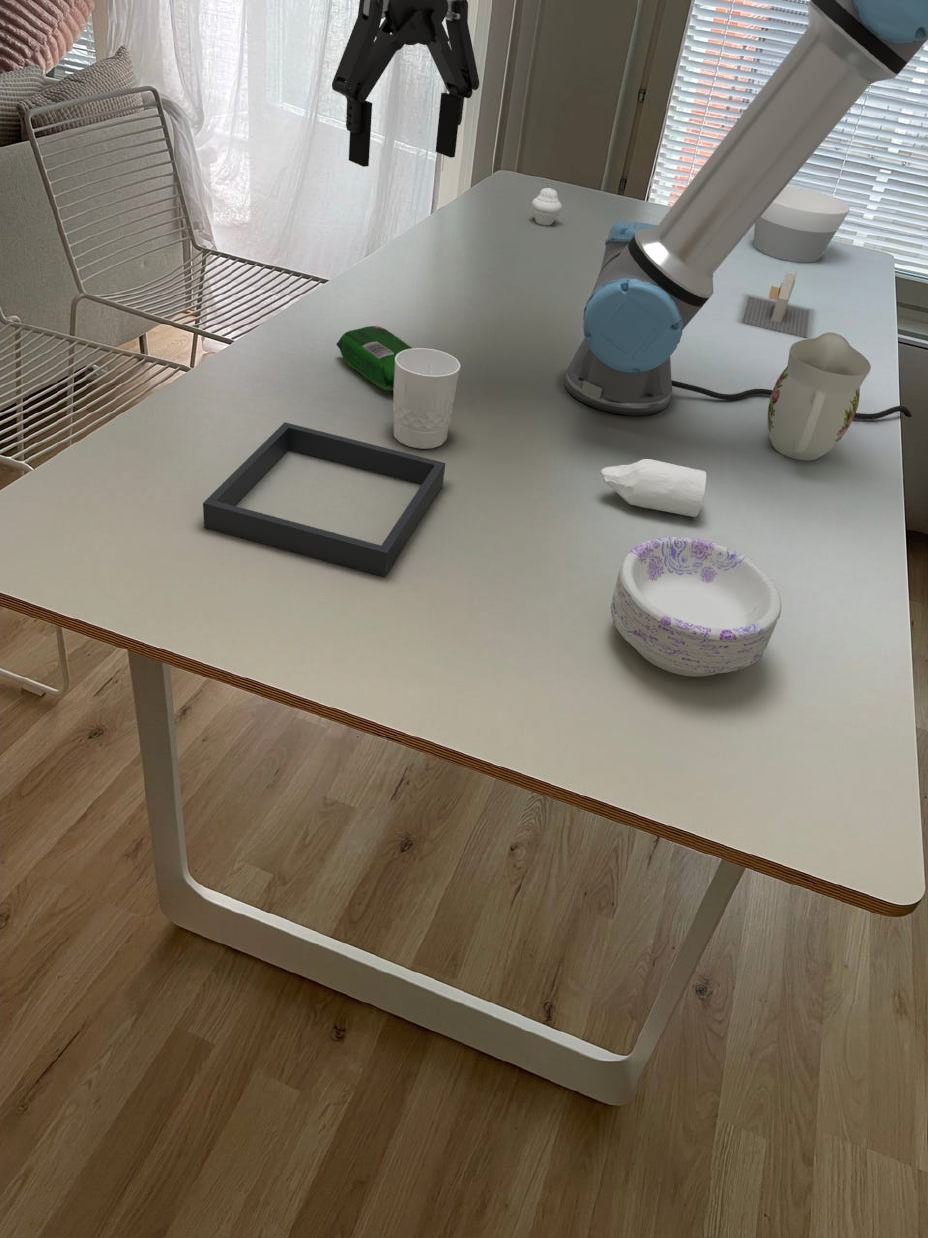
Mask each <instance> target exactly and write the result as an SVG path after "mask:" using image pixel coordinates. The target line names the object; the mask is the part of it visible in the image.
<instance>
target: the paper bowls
mask: <svg viewBox="0 0 928 1238" xmlns="http://www.w3.org/2000/svg"><path fill="white" fill-rule="evenodd" d="M614 585H615V586H614V589H613V593H612V597H611V602H610V615H611V618H612V621H613V624H614V626H615V627H616V629H617V631H618V632H619V633H620V635H621V636H622V638H623V639H624V640H625V641H626V642H628V644H630V645H631V646H632V647H633V648H634V649H635V650H636V651H637V652H638V653H639V654H640V655H641V657H643V658H644V659H645V660H646V661H648V662H649V663H650V664H652V665H653V666H656V667H657V668H659V669H661V670H664V671H666V672H668V673H671V674H675V675H680V676H684V677H693V678H694V677H695V678H698V677H699V678H701V677H709V676H714V675H716V674H723V673H726V674H727V673H729V672H735V671H740V670H744V669H745V668H747V667H749V666H751V665H753V664H755V663H756V662H758V660H760V658H762V656H763V655H764V653H765V651H766V649H767V647H768V645H769V642H770V640H771V637H772V635H773V634H774V631H775V628H776V626H777V624H778V620H779V619H780V617H781V615H782V614H781V613H782V604H783V603H782V598H781V593H780V591H779V589H778V587H777V585H776V583H775V581H774V580H773V579H772V578H771V576H770V575H769V574H768V572H766V571H765V570H764V569H763V568H762V567H761V566H760V565H758V564H757V563H756V562H755V561H753V560H751V559H750V558H748V557H747V556H746V555H743V554H742V553H739V552H738V551H736V550H734V549H732V548H729V547H727V546H724V545H722V544H718V543H715V542H713V541H709V540H705V539H699V538H693V537H687V536H685V537H684V536H668V537H667V536H666V537H665V536H664V537H658V538H653V539H650V540H647V541H644V542H642V543H640V544H638V545H636V546H635V547H633V548H632V549H630V550H629V551H628V553H627V554H625V556H624V557H623V559H622V561H621V563H620V567H619V570H618V574H617V579H616V582H615V584H614Z"/></svg>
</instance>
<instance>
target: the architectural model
mask: <svg viewBox="0 0 928 1238" xmlns="http://www.w3.org/2000/svg"><path fill="white" fill-rule="evenodd" d="M797 273H798V271H795V272H794V273H790V272H785V274H784V277H783V280H782V282H781V283H780V286H779V287H778V286H774V285H771V287H770V289H769V294H768V298H767V299H768V300H767V299H762V298H758V297H753V296H749V295H748V299H747V303H746V306H745V308H744V309H745V310H744V314H743V316H742V322H741V323H743V324H747V325H751V326H755V327H760V328H764V329H768V330H771V331H776V332H780V333H784V334H789V335H793V336H798V337H802V338H806V339H808V330H809V323H810V322H809V321H810V312H811V310H810V309H806V308H802V307H798V306H792V305H788V304H789V301H790V298H791V295H792V292H793V289H794V286H795V283H796V281H797V279H796V278H797Z"/></svg>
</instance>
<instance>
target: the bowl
mask: <svg viewBox="0 0 928 1238" xmlns="http://www.w3.org/2000/svg"><path fill="white" fill-rule="evenodd" d="M850 211H851V210H850V206H849V205H848V204H847V203H846V202H845V201H842V200H840V199H839V198H836V197H835V196H831V195H830V194H826V193H823V192H820V191H816V190H813V189H807V188H804V187H803V188H802V187H799V186H791V185H786V187H785V188H784V189H783V190H782V191H781V193H780V194H779V195H778V196H777V197H776V199H775V200H774V201H773V202H772V203H771V205H770V206H769V207H768V208H767V209H766V211H765V212H764V213H763V214H762V215H761V217H760V218H759V219H758V220H757V221H756V223H755V224H754V231H753V232H754V234H753V247H754V248H755V249H756V250H758V251H759V252H760V253H763V254H765V255H766V256H769V257H772V258H775V259H779V260H782V261H788V262H794V263H805V264H807V263H815V262H818V261H819V260H820V259H821V258H822V255H823V254H824V253H825V251H826V249H827V247H828V246H829V244H830V243H831V241H832V239H833V238H834V236H835V235H836V233H837V231H838V230H839V229H840V227H841V225H842V224H843V223H844V221H845V219H846V217H847V216H848V214H849V213H850Z"/></svg>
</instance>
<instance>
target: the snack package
mask: <svg viewBox="0 0 928 1238" xmlns="http://www.w3.org/2000/svg"><path fill="white" fill-rule="evenodd" d="M336 346H337V348H338V349H339V350H340V353H341V356H342V358H343V360H344V361H345V363H346V364H347V365H348V366H349V367H350V368H352V369H353V370H355V371H357V372H358V373H359V374H360V375H362V376H363V377H364V378H366V379H367V380H368V381H370V382H371V383H372V384H374V385H376V386H377V387H378V388H379V389H382V390H383V391H385V392H390V391H394V368H395V356H396V355H397V354H398V353H399V352H401V351H403V350H407V349H412V348H413V347H412V346H411V345H409V344H407V343H406V342H405V341H403V340H402V339H401V338H400V337H399V336H397V335H395V334H393V333H392V332H391V331H389V330H388V329H386V328H383V327H382V326H378V325H369V326H364V327H360V328H357V329H352V330H348V331H346V332H344V333H343V334H342V335H341V337H340V338H339V340H338V341H337V342H336Z"/></svg>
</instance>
